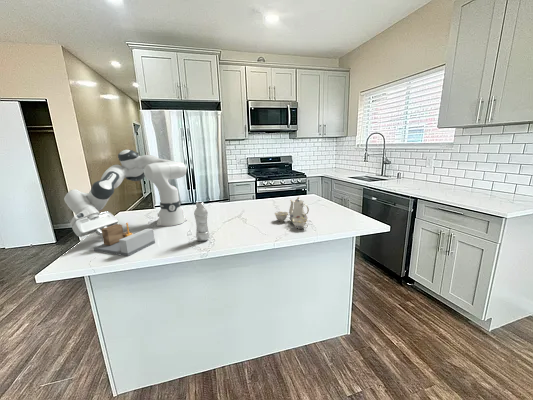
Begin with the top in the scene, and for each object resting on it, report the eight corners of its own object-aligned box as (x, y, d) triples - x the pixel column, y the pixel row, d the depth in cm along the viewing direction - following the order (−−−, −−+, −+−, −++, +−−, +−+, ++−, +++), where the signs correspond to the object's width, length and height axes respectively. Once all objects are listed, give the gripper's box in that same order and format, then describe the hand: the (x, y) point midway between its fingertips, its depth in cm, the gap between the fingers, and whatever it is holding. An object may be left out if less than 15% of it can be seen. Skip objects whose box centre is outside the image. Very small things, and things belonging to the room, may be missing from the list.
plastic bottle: (197, 238, 129) (194, 201, 125) (210, 237, 130) (207, 200, 125) (195, 243, 123) (191, 204, 119) (208, 242, 123) (205, 203, 119)
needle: (125, 239, 126) (123, 223, 125) (130, 237, 129) (128, 221, 127) (128, 239, 126) (125, 223, 124) (133, 237, 129) (130, 222, 127)
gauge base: (94, 250, 117) (91, 236, 116) (123, 238, 132) (120, 225, 130) (128, 256, 110) (125, 240, 108) (155, 243, 125) (153, 229, 123)
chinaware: (270, 223, 155) (267, 198, 150) (289, 215, 165) (286, 192, 160) (302, 235, 134) (300, 206, 129) (322, 225, 143) (320, 198, 139)
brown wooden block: (104, 244, 120) (101, 229, 118) (126, 235, 131) (123, 221, 130) (110, 245, 119) (107, 229, 117) (131, 236, 130) (129, 222, 128)
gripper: (106, 214, 136) (121, 232, 134) (65, 225, 117) (83, 247, 116) (110, 206, 133) (126, 225, 132) (70, 217, 114) (88, 239, 113)
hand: (106, 235), depth 124 cm, fingers closed
